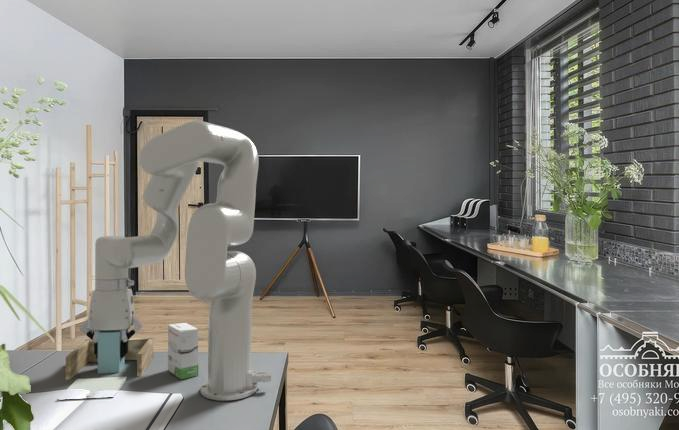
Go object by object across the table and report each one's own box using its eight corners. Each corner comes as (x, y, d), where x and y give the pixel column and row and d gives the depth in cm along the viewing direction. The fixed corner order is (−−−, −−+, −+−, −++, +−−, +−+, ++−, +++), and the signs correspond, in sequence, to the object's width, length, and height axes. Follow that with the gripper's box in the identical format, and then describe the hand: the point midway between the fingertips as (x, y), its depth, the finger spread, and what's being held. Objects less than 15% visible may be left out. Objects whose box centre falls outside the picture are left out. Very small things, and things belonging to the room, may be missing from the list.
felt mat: (126, 379, 113) (126, 376, 113) (113, 397, 103) (113, 394, 103) (77, 381, 111) (77, 379, 111) (58, 400, 101) (58, 397, 101)
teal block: (124, 365, 123) (124, 327, 123) (119, 372, 118) (119, 332, 118) (103, 366, 122) (104, 328, 122) (97, 373, 117) (97, 333, 117)
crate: (153, 357, 129) (153, 337, 129) (141, 376, 115) (141, 353, 115) (86, 360, 126) (86, 340, 126) (65, 379, 112) (65, 356, 112)
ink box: (199, 375, 116) (199, 328, 116) (179, 380, 113) (179, 331, 113) (185, 366, 123) (186, 321, 123) (166, 370, 120) (167, 323, 120)
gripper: (150, 282, 125) (150, 350, 125) (80, 283, 121) (80, 353, 122) (144, 287, 117) (143, 360, 118) (69, 288, 114) (69, 363, 114)
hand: (111, 355), depth 120 cm, fingers closed on teal block, 5 cm apart
